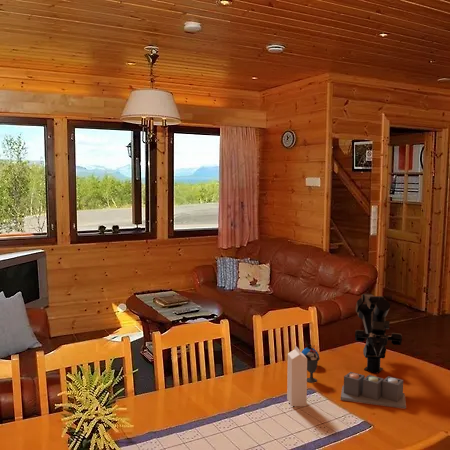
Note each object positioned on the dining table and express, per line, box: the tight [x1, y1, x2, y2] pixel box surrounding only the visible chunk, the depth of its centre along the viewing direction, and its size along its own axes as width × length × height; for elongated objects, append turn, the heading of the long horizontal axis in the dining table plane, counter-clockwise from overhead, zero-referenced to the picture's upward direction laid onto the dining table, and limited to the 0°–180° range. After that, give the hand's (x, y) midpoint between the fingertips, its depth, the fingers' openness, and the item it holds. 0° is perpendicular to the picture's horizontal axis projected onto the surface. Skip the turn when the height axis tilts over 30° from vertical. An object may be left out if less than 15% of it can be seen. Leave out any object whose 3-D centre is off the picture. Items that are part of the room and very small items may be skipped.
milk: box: [286, 345, 308, 407], centre depth 185 cm, size 6×6×22 cm
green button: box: [368, 375, 378, 382], centre depth 189 cm, size 4×4×4 cm
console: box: [340, 371, 407, 409], centre depth 189 cm, size 11×24×8 cm, turn 72°
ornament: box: [301, 343, 320, 358], centre depth 222 cm, size 9×9×10 cm
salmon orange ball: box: [350, 372, 359, 379], centre depth 192 cm, size 4×4×4 cm
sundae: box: [305, 345, 320, 384], centre depth 206 cm, size 7×7×15 cm
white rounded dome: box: [388, 377, 398, 384], centre depth 187 cm, size 4×4×4 cm
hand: (377, 356), depth 198 cm, fingers closed
